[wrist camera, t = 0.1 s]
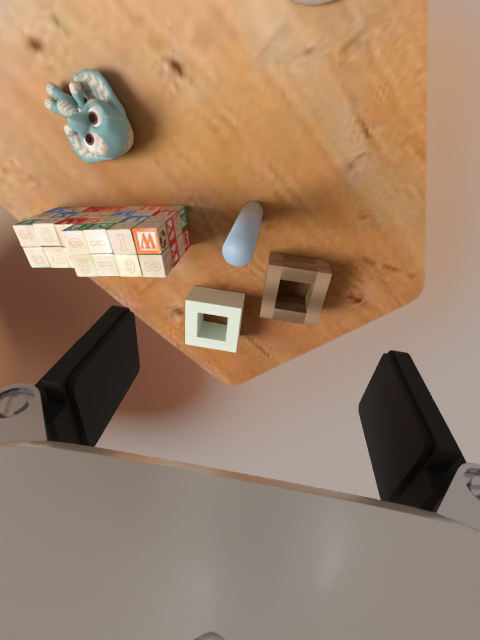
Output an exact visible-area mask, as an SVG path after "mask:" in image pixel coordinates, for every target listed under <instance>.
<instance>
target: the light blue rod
mask: <svg viewBox="0 0 480 640" xmlns="http://www.w3.org/2000/svg"><path fill="white" fill-rule="evenodd" d="M263 213H264V211H263V208H262V206H261V205H260V204H259V203H258V202H256V201H249V202H247V203H246V204H245V205H244V206H243V208H242V210H241V212H240V214H239V216H238V218H237V220H236V221H235V223H234V225H233V227H232V229H231V231H230V233H229V235H228V237H227V239H226V241H225V243H224V245H223V249H222V252H223V256H224V258H225V260H226V261H227V262H228V263H229V264H231V265H233V266H244V265H246V264H248V263H249V262H250V261H251V259H252V257H253V254H254V250H255V246H256V242H257V238H258V234H259V230H260V226H261V222H262V218H263Z"/></svg>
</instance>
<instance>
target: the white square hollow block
mask: <svg viewBox="0 0 480 640" xmlns="http://www.w3.org/2000/svg"><path fill="white" fill-rule="evenodd" d="M244 299H245V294H244V293H238V292H231V291H225V290H219V289H212V288H206V287H199V286H193V288H192V289H191V291H190V293H189V295H188V296H187V298H186V313H185V344H188V345H194V346H200V347H206V348H212V349H218V350H224V351H230V352H236V350H237V346H238V341H239V337H240V330H241V322H242V315H243V307H244ZM204 313H205V314H211V315H217V316H223V317H228V322H227V325H226V324H220V323H214V322H207V321H203V320H204Z"/></svg>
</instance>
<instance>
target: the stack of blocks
mask: <svg viewBox="0 0 480 640" xmlns="http://www.w3.org/2000/svg"><path fill="white" fill-rule="evenodd" d="M13 228H14V230H15V232H16V234H17V237H18V239H19V241H20V243H21V246H22V247H23V249H24V251H25V253H26V256H27V258H28V260H29V262H30V264H31V266H32V267H34V268H35V267H52V268H69V267H71V268H75V270H76V273H77V276H125V277H142V276H144V277H166V276H167V275H168V273H169V272H170V271H171V269H172V268H173V267H175V265H176V264H177V263H178V262H179V260H180V258H181V257H182V255H183V254H184V253H185V252H186V250H187V249H188V248H189V246H190V239H189V232H188V226H187V219H186V212H185V206H165V205H154V206H127V207H108V208H90V207H72V208H54V209H52V210H49V211H46V212H44V213H41V214H38V215H35V216H33V217H30V218H28V220H25V221H22V222H20V223H17V224H15V225H13Z"/></svg>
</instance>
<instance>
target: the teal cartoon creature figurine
mask: <svg viewBox="0 0 480 640" xmlns="http://www.w3.org/2000/svg"><path fill="white" fill-rule="evenodd" d="M72 80H73V81H72V82H71V83H70V84H69V88H70V91H71V94H72V96H73V97H72V96H71V95H69V94H66V93H64V92H63V91H62V89H61V88H59V87H58V86H57V85H55V84H53V83H52V82H51V83H48V84H47V86H46V91H47V93H48V94H49V95H51V96H52V97H54V98H57V99H58V101H56V100H54V99H53V98H51V97H47V98H46V100H45V106H46V107H47V108H48V109H50V110H51V111H53V112H55V113H58V114H61V115H62V116H63V117H65V118H68V119H67V121H68V124H66V125H65V126H64V131H65V133H66V136H67V139H68V141H69V142H70V144H71V146H72V148H73V150H74V152H75V153H76V154H77V155H78V156H79V157H80V158H81V159H82V160H83V161H86V162H90V163H92V162H98V161H103V160H115V159H117V158H118V157H120V156H122V155H124V154H125V153H126V152H128V151H129V150H130V148H131V147H132V144H133V141H134V134H133V130H132V127H131V125H130V122H129V120H128V118H127V117H126V112H125V109H124V108H123V106H122V104H121V102H120V101H119V100H118V99H117V97H116V95H115V93H114V92H113V90H112V88H111V86H110V85H109V83H108V82H107V81H106V79H105V78H104V77H103V76H102V75H101V73H100V72H99V71H98V70H91V69H85V70H82V71H80V72H78V73H76V74H75V75H74V76H73V77H72ZM84 97H85V99H86V100H87V102H86V104H85V102H84Z"/></svg>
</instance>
